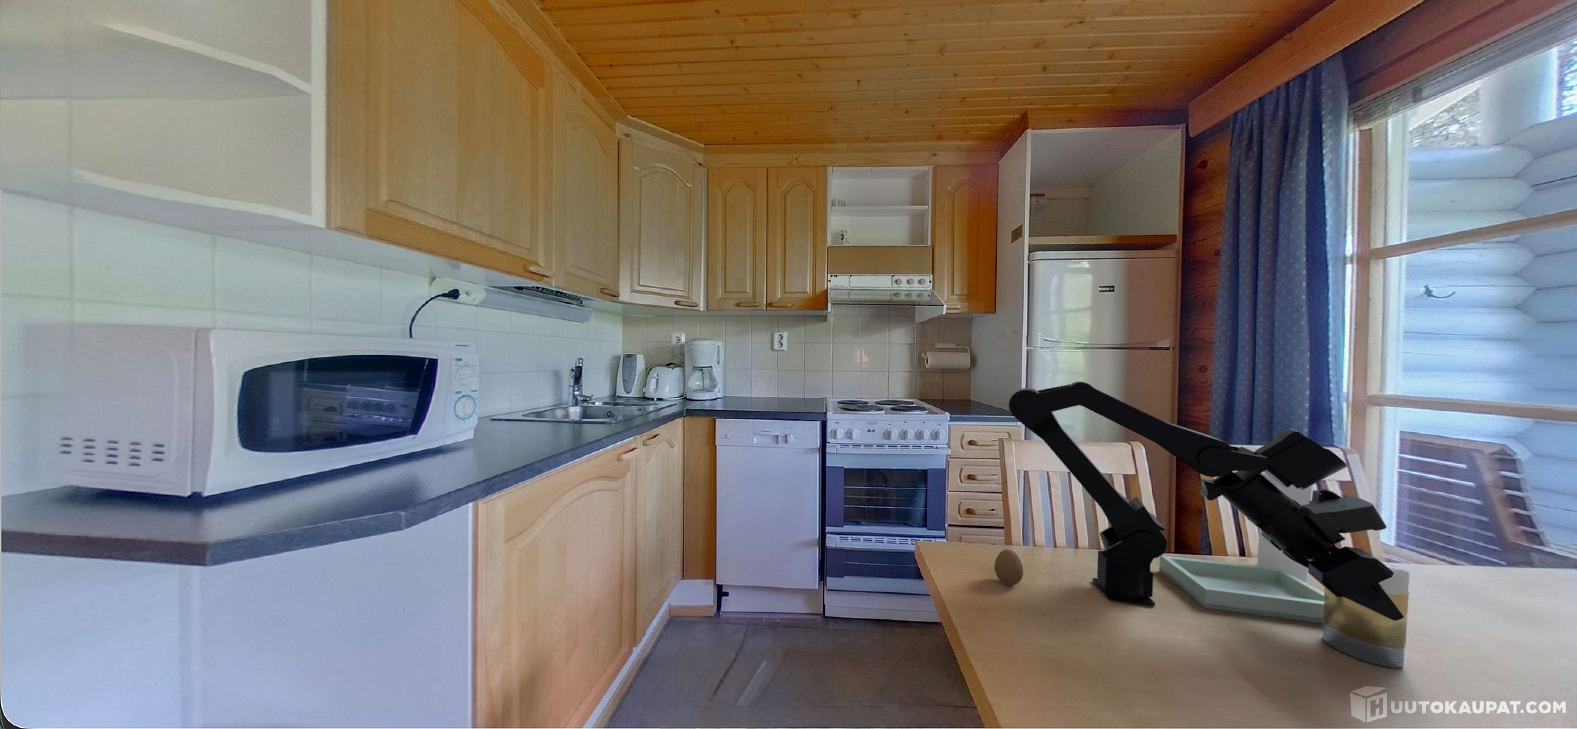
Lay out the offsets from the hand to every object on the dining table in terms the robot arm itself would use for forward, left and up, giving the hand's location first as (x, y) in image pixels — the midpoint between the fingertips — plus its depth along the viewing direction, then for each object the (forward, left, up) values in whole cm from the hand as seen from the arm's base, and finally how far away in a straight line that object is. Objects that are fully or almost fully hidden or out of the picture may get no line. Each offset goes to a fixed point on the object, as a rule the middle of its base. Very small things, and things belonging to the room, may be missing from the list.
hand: (1380, 605), depth 57 cm
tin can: (-1, 0, -7) cm, 7 cm away
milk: (+7, +24, -7) cm, 26 cm away
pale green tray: (-6, +13, -7) cm, 16 cm away
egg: (-44, +6, -7) cm, 45 cm away
